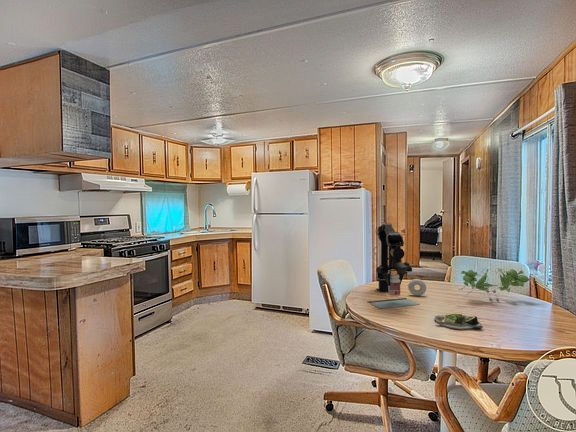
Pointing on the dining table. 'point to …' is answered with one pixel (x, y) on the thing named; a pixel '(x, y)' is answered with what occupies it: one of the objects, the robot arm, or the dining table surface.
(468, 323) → the salad plate
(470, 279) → the plant cuttings
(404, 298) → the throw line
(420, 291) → the donut
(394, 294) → the pill bottle
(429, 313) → the dining table surface
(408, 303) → the mat
